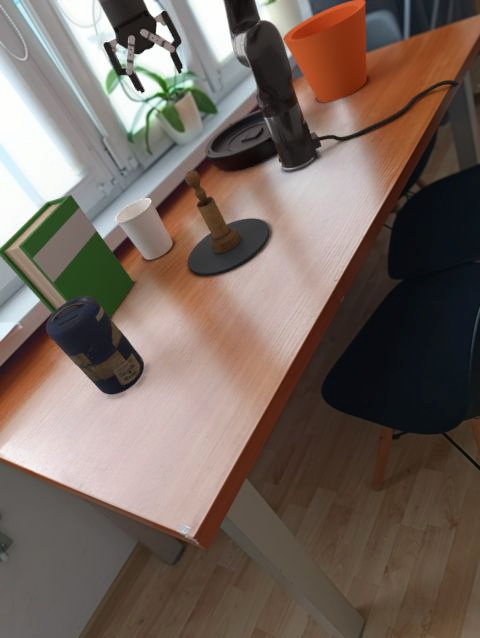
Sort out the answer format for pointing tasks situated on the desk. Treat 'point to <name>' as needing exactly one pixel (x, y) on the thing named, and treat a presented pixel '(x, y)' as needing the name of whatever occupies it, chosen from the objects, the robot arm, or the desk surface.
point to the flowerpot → (332, 50)
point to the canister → (95, 345)
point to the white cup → (145, 228)
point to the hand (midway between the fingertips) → (161, 82)
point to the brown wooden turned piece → (213, 217)
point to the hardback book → (66, 258)
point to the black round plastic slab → (241, 144)
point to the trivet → (250, 244)
